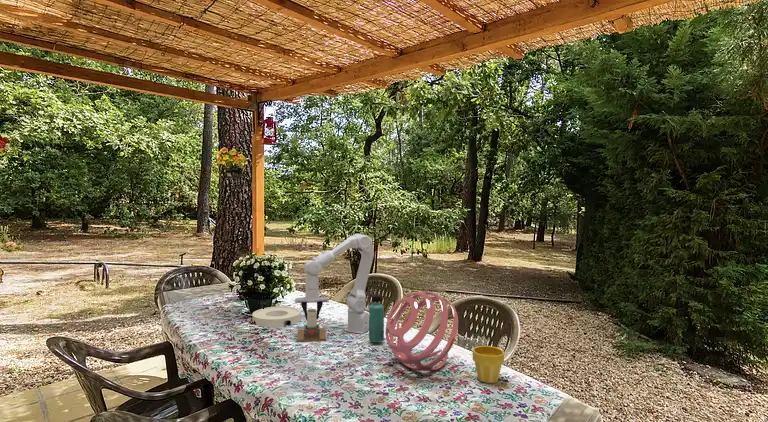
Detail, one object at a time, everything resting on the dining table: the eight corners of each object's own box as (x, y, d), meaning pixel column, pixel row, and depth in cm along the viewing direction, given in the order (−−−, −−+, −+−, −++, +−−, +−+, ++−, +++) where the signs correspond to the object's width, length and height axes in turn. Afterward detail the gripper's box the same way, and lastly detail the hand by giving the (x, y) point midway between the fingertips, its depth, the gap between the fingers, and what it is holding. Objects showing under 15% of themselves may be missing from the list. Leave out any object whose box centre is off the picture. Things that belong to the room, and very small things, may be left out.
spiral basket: (452, 299, 171) (407, 266, 159) (491, 336, 146) (441, 301, 134) (410, 353, 171) (361, 324, 159) (442, 399, 146) (387, 369, 134)
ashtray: (306, 315, 216) (306, 307, 216) (292, 328, 193) (292, 320, 193) (263, 313, 218) (263, 305, 218) (244, 326, 195) (244, 318, 195)
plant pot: (480, 370, 149) (481, 343, 148) (508, 378, 142) (509, 350, 142) (466, 379, 141) (467, 351, 140) (495, 388, 134) (496, 358, 134)
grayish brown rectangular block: (307, 327, 184) (307, 308, 184) (316, 327, 185) (316, 308, 185) (306, 330, 180) (307, 311, 180) (316, 329, 181) (316, 311, 181)
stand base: (298, 331, 188) (298, 322, 188) (325, 330, 190) (325, 321, 190) (297, 342, 175) (297, 332, 175) (326, 340, 177) (326, 331, 177)
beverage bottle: (382, 346, 171) (383, 298, 170) (366, 345, 172) (367, 297, 172) (385, 341, 177) (386, 294, 177) (370, 339, 179) (370, 293, 178)
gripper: (328, 285, 187) (328, 315, 188) (295, 286, 185) (295, 317, 185) (329, 289, 180) (328, 320, 181) (294, 290, 178) (294, 321, 178)
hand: (311, 319), depth 182 cm, fingers closed on grayish brown rectangular block, 4 cm apart
